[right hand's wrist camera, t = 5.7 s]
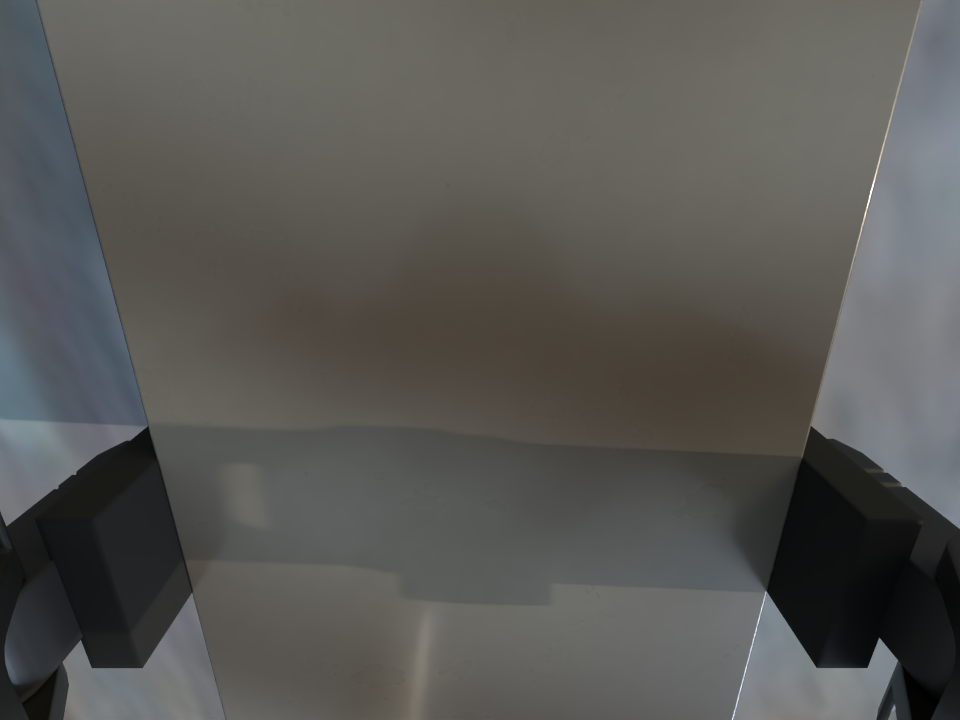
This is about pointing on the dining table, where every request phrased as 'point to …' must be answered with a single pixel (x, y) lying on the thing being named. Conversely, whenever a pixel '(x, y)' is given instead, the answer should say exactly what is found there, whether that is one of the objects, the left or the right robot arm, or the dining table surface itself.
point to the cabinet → (479, 327)
